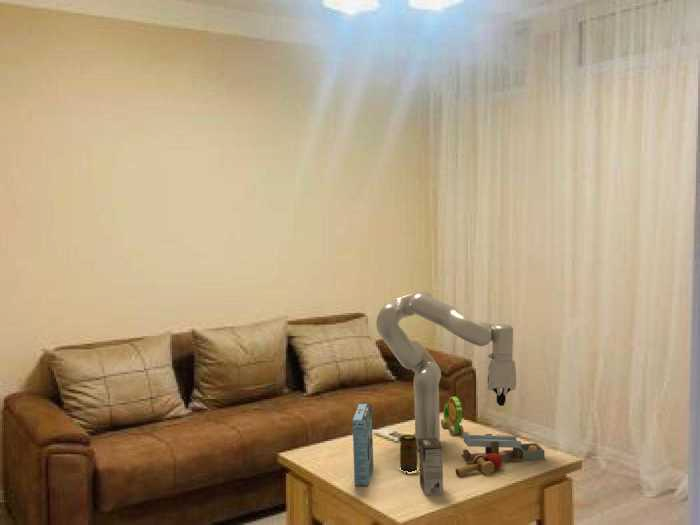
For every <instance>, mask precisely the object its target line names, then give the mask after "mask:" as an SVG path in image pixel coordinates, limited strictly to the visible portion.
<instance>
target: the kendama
mask: <svg viewBox="0 0 700 525" xmlns="http://www.w3.org/2000/svg"><path fill="white" fill-rule="evenodd" d="M473 463H474V464H470V465H466V466H462V467H458V468H455V469H454V470H455V471H454V472H455V475H456V477H458V478H461V477H463V476H465V475H467V474H469V473H472V472H474V471H476V470H478V469H481V470H480V471H481V472H482V473H483V474H484V475H491V474H492V473H493V472H494V471H496V470H499V469H500V468H501V467H502V464H503V463H502V459H501V457H500V456H499V455H498V454H496V453H490V454H488V455H487V456H486V458H484V456H482V455H477V456H475V458H474V460H473Z"/></svg>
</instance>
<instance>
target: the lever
mask: <svg viewBox="0 0 700 525" xmlns="http://www.w3.org/2000/svg"><path fill="white" fill-rule="evenodd" d="M492 441H498V442H499V448H506V449H507V448H508V449H509V448H510V449H511V448H512V449H513V448H521V444H522V440H517V435H510V434H508V433H497V434H496V435H493V434H492V435H484V434H469V432H468V431H465V432H464V433H463V442H464V444H465V445H466V446H467V447H469V448H470V447H475V448H477V447H478V448H485V447H492Z"/></svg>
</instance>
